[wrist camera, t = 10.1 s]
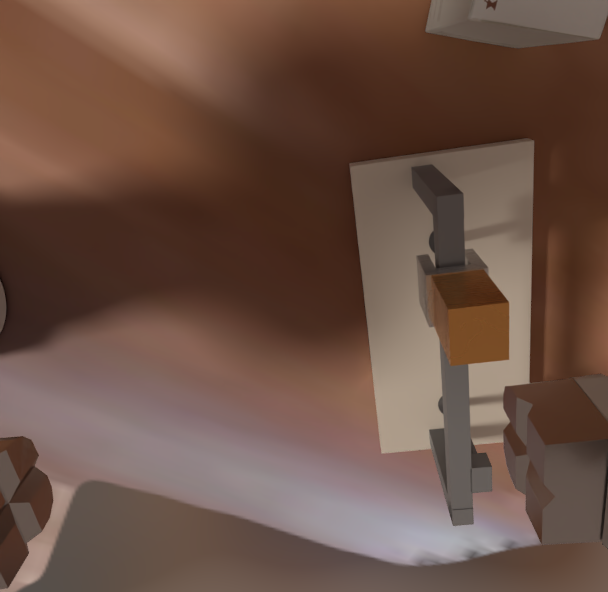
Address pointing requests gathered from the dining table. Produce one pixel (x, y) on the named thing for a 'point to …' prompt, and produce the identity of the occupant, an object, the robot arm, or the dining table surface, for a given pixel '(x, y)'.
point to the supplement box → (518, 21)
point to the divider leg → (465, 310)
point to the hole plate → (408, 313)
